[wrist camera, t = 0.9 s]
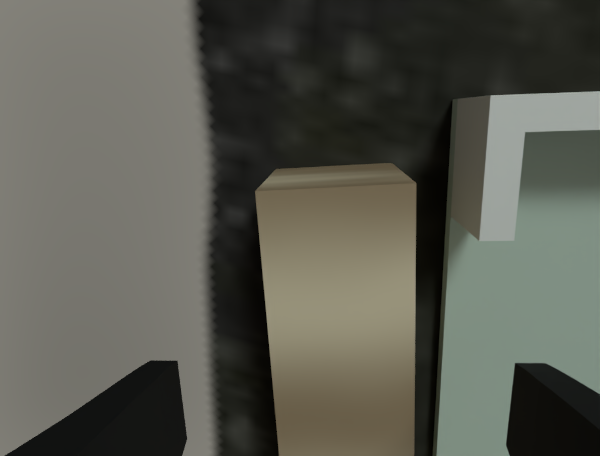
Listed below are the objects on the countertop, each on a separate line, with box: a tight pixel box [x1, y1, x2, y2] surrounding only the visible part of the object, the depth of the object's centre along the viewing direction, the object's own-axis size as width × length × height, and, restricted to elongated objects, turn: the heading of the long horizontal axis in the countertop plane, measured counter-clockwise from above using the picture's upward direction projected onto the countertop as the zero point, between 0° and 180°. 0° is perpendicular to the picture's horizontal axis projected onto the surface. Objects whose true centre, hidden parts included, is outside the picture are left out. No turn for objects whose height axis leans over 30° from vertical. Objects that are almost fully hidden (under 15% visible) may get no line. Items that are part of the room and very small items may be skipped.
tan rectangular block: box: [255, 163, 416, 456], centre depth 13 cm, size 12×4×4 cm, turn 4°
